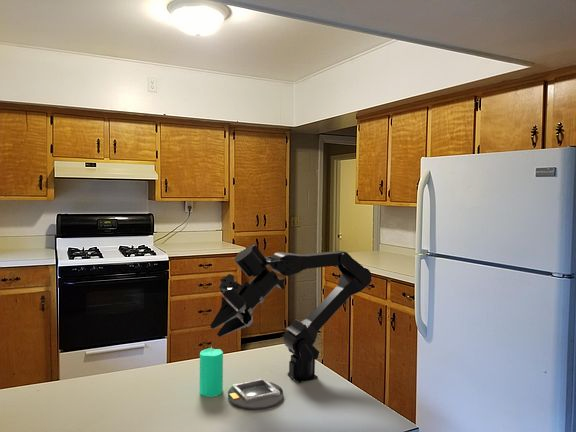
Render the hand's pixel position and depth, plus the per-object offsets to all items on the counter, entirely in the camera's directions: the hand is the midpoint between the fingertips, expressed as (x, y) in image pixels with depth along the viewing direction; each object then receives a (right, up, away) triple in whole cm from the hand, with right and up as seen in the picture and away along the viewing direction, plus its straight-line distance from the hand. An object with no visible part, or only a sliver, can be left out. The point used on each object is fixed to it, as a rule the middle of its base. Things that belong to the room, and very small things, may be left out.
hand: (214, 331), depth 114 cm
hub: (+10, -16, 0) cm, 19 cm away
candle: (-1, -16, +2) cm, 17 cm away
